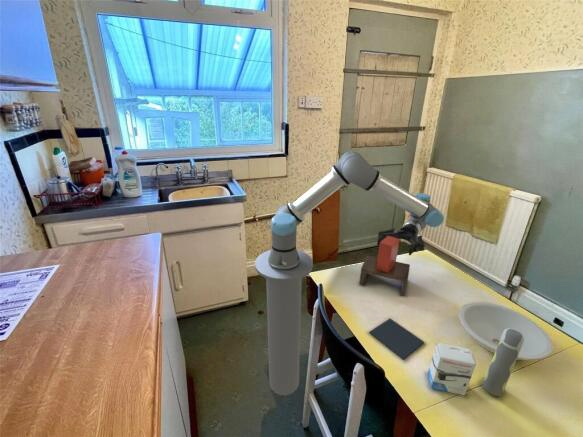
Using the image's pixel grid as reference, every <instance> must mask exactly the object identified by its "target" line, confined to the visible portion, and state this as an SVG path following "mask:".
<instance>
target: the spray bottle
mask: <svg viewBox="0 0 583 437" xmlns="http://www.w3.org/2000/svg"><path fill="white" fill-rule="evenodd" d="M523 342H524V337H523V335H522V333H521V332H519V331H518V330H515V329H512V328H508V329H505V330H504V332H503V334H502V337H501V339H500V341H498V347H497V349H496V351H495V353H493V357H492V359H491V361H490V363H489V366H488V369H487V370H486V373H485V376H484V377H483V379H482V381H481V384H482V387H483V389H484V391H486V392H487V393H488V394H490V395H492V396H494V397H502V396H503V395H504V393H505V391H506V387H507V384H508V381H509V379H510V378H511V374H512V372H513V370H514V367H515V364H516V362H517V357H518V355H519V352H520V350H521V347H522V344H523Z"/></svg>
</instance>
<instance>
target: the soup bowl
mask: <svg viewBox="0 0 583 437" xmlns="http://www.w3.org/2000/svg"><path fill="white" fill-rule="evenodd" d="M458 316H459V321H460V323H461V325H462V326H463V328H464V329H465V330H466V331H467V332H468V334H469V335H470V337H472V339H473V340H474V341H475V342H477V343H478V344H479V345H480V346H481V347H482V348H484V349H485V350H487V351H489V352H491V353H493V354H495V351H496V349H497V347H498V344H499V343H498V344H497V343H495V342H494V341H493V340H495V341H498V342H500V339H501V337H502V334H503V332H504V330H505V329H508V328H512V329H515V330H518V331H519V332H521V333H522V335H523V337H524V342H523V344H522V347H521V350H520V352H519V355H518V357H517V360H518V361H519V360H523V361H525V360H527V361H537V360H543V359H545V358H547V357H549V356H550V355H551V353H552V352H553V348H554V346H553V341H552V339H551V337H550V336H549V335H548V333H547V332H546V331H545V330H544V329H543V328H542V327H541V326H540V325H539V324H538V323H537V322H535V320H532V319H531V318H529V317H528V316H526V315H524V314H523V313H520V312H519V311H516V310H514V309H513V308H509V307H507V306H504V305H500V304H497V303H493V302H488V301H473V302H468V303H465V304H464V305H463V306H461V308H460V309H459V312H458ZM517 360H516V361H517Z"/></svg>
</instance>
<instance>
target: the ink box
mask: <svg viewBox="0 0 583 437" xmlns="http://www.w3.org/2000/svg"><path fill="white" fill-rule="evenodd" d="M476 366H477V363H476V360H475V356H474V355H473V352H472V350H471V349H469V348H466V347H461V346H456V345H450V344H446V343H441V342H439V343H436V344H435V347H434V350H433V354H432V356H431V361H430V364H429V367H428V371H427V376H428V381H429V385H430V388H431V389H433V390H438V391H442V392H447V393H451V394H457V395H461V396H465V395H466V393H467V390H468V387H469V385H470V382H471V379H472V377H473V374H474V371H475V368H476Z"/></svg>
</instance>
